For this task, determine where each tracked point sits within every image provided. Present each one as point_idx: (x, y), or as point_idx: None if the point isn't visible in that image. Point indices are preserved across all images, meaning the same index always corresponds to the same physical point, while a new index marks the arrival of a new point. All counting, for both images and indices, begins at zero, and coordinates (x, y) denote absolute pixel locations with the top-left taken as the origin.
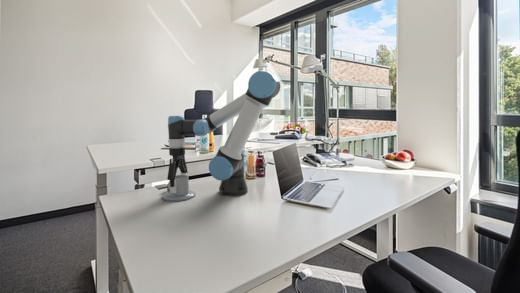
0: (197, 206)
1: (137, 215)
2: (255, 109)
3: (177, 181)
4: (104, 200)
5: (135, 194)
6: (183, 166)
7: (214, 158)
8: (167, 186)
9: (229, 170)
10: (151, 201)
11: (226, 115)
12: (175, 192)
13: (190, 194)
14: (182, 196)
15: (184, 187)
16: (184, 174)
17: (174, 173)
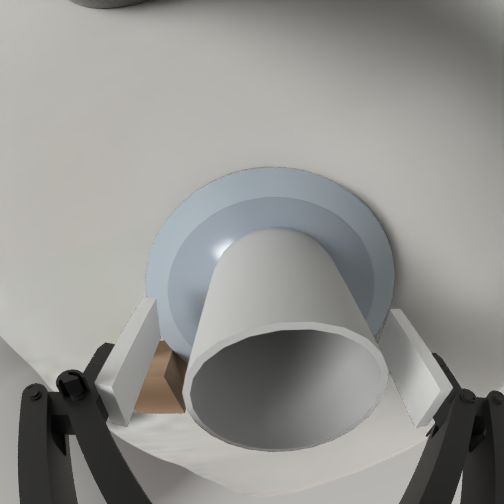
0: (480, 117)
1: (498, 352)
2: None
3: (364, 377)
4: (311, 487)
5: (240, 461)
6: (129, 497)
7: None
8: (184, 406)
9: None
10: None
11: None
12: (403, 314)
13: (296, 203)
14: (348, 255)
15: (341, 278)
16: (117, 385)
17: (464, 449)
